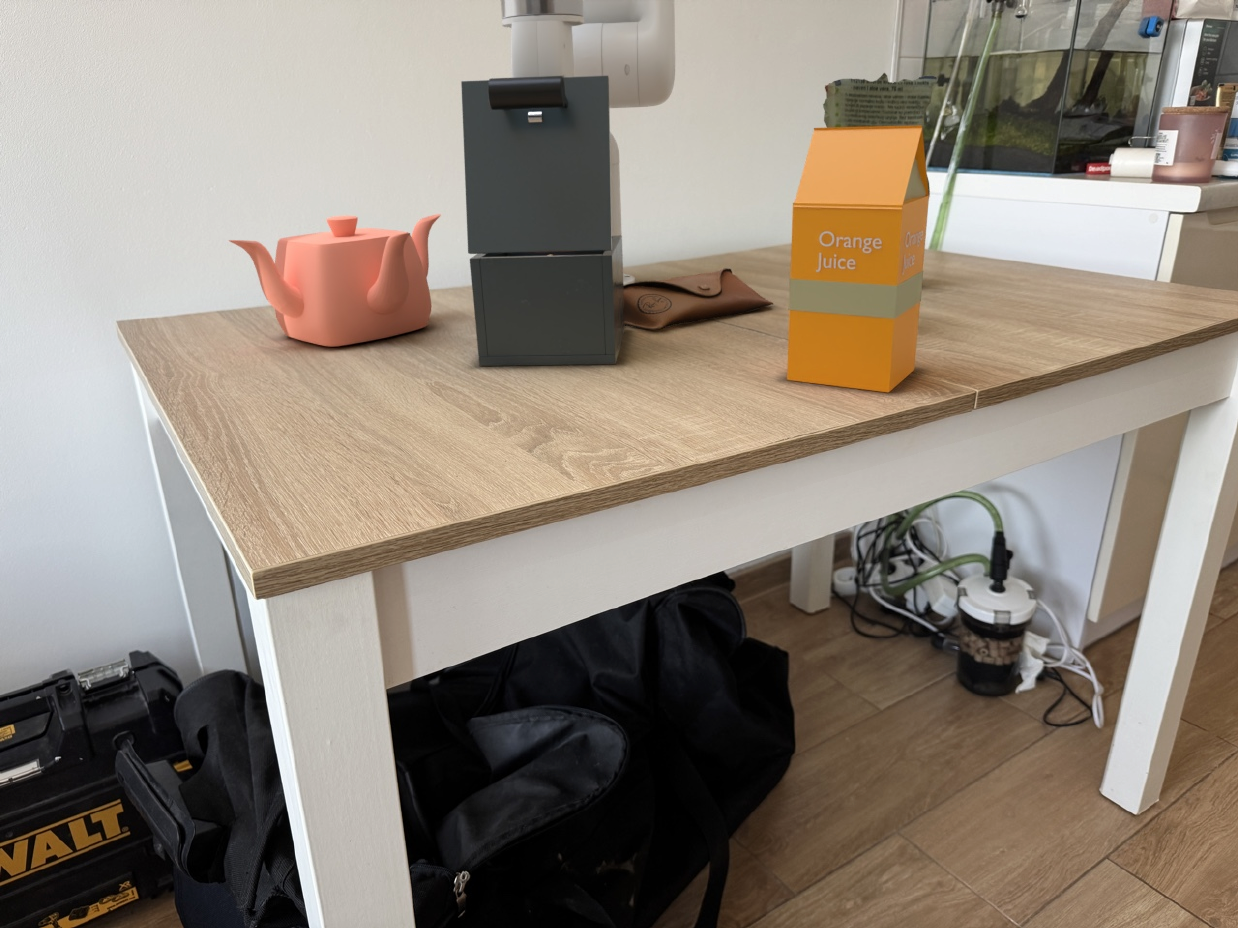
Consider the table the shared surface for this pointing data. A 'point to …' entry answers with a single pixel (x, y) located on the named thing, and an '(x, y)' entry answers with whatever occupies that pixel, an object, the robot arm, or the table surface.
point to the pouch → (878, 102)
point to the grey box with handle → (537, 164)
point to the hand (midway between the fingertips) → (553, 202)
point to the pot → (347, 281)
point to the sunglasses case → (688, 300)
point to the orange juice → (858, 257)
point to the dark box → (549, 307)
